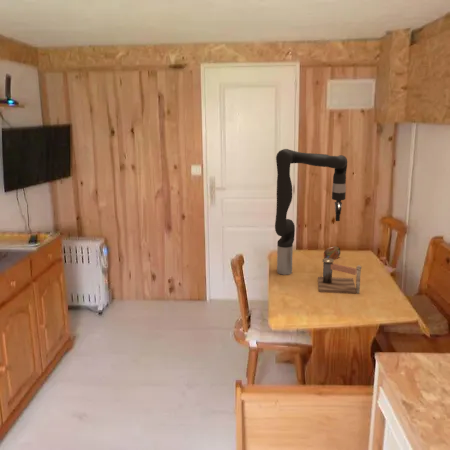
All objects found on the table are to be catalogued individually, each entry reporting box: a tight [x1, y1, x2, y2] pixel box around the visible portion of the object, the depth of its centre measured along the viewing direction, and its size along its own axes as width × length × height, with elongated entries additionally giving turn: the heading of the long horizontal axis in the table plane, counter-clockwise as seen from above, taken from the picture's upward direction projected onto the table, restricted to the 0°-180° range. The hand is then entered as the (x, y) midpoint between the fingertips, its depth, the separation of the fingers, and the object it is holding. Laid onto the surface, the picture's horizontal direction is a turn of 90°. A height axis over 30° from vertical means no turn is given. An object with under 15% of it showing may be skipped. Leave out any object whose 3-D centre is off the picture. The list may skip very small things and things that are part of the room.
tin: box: [323, 245, 341, 261], centre depth 308 cm, size 15×3×8 cm, turn 130°
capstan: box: [322, 257, 357, 283], centre depth 258 cm, size 20×6×13 cm, turn 49°
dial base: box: [317, 264, 362, 295], centre depth 260 cm, size 20×22×16 cm
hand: (337, 220), depth 266 cm, fingers closed
